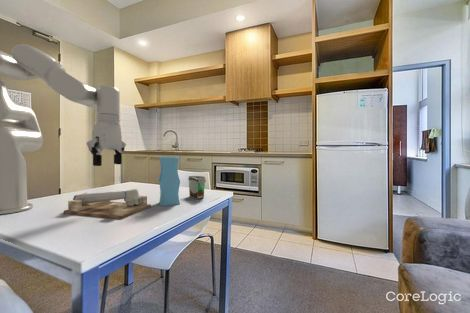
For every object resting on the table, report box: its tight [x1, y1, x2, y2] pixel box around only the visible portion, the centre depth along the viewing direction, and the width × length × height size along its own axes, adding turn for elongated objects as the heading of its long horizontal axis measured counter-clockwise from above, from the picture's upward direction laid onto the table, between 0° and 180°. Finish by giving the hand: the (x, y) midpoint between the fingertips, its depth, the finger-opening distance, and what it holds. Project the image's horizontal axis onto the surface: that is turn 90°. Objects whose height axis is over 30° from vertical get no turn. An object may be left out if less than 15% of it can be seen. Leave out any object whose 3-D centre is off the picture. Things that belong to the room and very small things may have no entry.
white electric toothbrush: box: [72, 188, 143, 206], centre depth 85 cm, size 5×7×25 cm
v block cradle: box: [63, 195, 152, 220], centre depth 85 cm, size 25×16×4 cm, turn 76°
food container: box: [188, 175, 207, 201], centre depth 108 cm, size 12×6×10 cm, turn 34°
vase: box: [158, 156, 181, 207], centre depth 96 cm, size 8×8×20 cm
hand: (108, 164), depth 85 cm, fingers open, 9 cm apart
